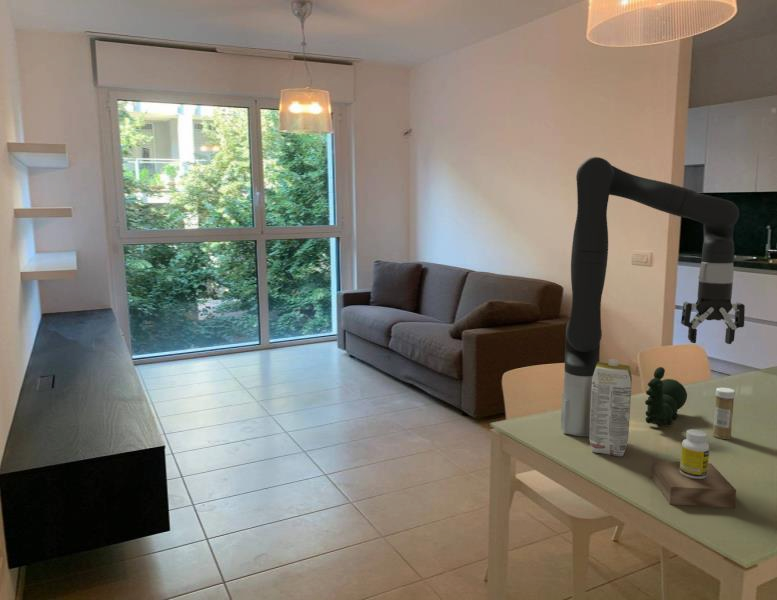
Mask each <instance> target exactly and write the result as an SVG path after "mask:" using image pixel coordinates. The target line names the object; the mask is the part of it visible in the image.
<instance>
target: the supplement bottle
mask: <svg viewBox="0 0 777 600" xmlns="http://www.w3.org/2000/svg"><path fill="white" fill-rule="evenodd" d="M685 436H686V439H683V440H682V442H681V451H680V452H681V453H680V461H679V462H680V472H681V474H683V475H684V476H686V477H689V478H693V479H704V478H705V477H706V476H707V469H708V463H709V459H710V458H709V457H710V445H709V444H708V442H706V441H707V439H708V438H707V437H708V433H707V432H706V431H703V430H700V429H691V428H690V429H687V430H686V435H685Z"/></svg>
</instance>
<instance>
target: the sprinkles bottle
mask: <svg viewBox="0 0 777 600" xmlns="http://www.w3.org/2000/svg"><path fill="white" fill-rule="evenodd" d="M735 397H736V391H735V390H734V389H733V388H729V387H717V388H715V406H714V414H713V415H714V417H713V431H712V436H713V437H715V438H717V439H722V440H729V439H731V438H732V427H733V421H734V420H733V418H734V416H733V415H734V400H735Z"/></svg>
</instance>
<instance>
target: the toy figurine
mask: <svg viewBox="0 0 777 600" xmlns="http://www.w3.org/2000/svg"><path fill="white" fill-rule="evenodd" d="M665 369H666V368H664V367H662V366H660V367H659V366H658V367H657V368H656V369H655V370H654V372H653V377H654V378H652V379H650V381H649V382H648V383H647V386H648V390H646V391H645V394H646V395H647V396H648V398H647V399H645V401H644V404H645V405H646V406H647V408H646V411H645V412H644V413H645V415H646V417H645V422H646V423H647V424H652V423H653V422H654V423H659V425H660V426H661V427H666V426H668V425H670V426H672V425H673V424H674V422H673V421H676V420H677V419H678V417H679V414H678V410H679V409H682V408H683V407H684V405H685V403H687V402H686V401H687V399H688V393H687V390H686V388H685V386H684V385H683V384H682V383H681V382H679V381H678V380H676V379H673V378H672V379H671V378H666V379H663V377H664V376H665V373H666V370H665Z"/></svg>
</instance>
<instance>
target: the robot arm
mask: <svg viewBox="0 0 777 600" xmlns="http://www.w3.org/2000/svg"><path fill="white" fill-rule="evenodd" d="M576 192H577V193H576V195H577V208H576V209H577V211H576V212H577V213H576V219H575V223H574V230H573V235H572V236H573V237H572V246H571V256H570V257H571V258H570V260H571V261H570V278H571V279H570V281H571V291H572V292H571V296H572V298H571V300H572V301H571V309H570V315H569V320H568V321H567V324H566V327H565V344H564V345H565V348H564V378H563V394H562V395H561V412H560V427H561V429H562V431H563V434H567V435H570V436H571V435H572V436H576V437H590V414H591V394H592V379H593V373H594V370H595V367H596V364H597V363H598V362H601V361H600V354H601V353H600V348H601V340H602V337H603V336H602V335H603V334H602V330H603V329H602V317H601V316H602V314H601V311H602V309H601V307H602V305H601V304H602V297H603V296H602V295H603V290H604V286H605V282H606V281H605V280H606V274H607V266H608V259H609V257H608V256H609V255H608V254H609V229H608V216H607V215H608V212H607V211H608V204H609V198H610V196H615V197H620V198H624V199H626V200H631V201H633V202H636V203H639V204H641V205H644V206H647V207H648V208H651V209H654V210H658V211H660V212H663V213H667V214H670V215H673V216H676V217H680V218H685V219H688V220H689V219H690V220H692V221H695V222H699V223H700V224H703V243H702V249H701V250H702V251H701V263H700V266H699V267H700V268H699V274H698V285H697V286H698V287H697V299H696V302H695V303H694V302H688V301H684V302H683V305H682V312H681V319H680V320H681V321H680V324H681V325H682V326H685V327H687V328H688V332H687V333H688V334H687V338H688V341H689V342H690V343H692V344H696V343H697V336H698V335H697V333H698V332H697V331H698V329H697V328H698V327H699V325H700V324H702V323H704V321H714V320H715V321H721V320H722V321H723V323H724V324H725V326H726V328H725V337H724V338H725V339H724V342H725V343H726V344H727V345H732V343H733V342H734V341H735V335H736V330H737V329H738V328H744V327H745V306H746V305H745V304H743V303H741V302H736V303H732V297H733V296H732V294H733V284H734V283H733V282H734V281H733V280H734V273H735V272H734V257H735V242H734V229H735V224H736V223H737V221H738V220H739V217H740V211H739V208H738V206H737V205H736V203H734V202H733V201H730V200H728V199H724V198H722V197H721V198H720V197H716V196H712V195H707V194H703V193H700V192H697V191H695V190H693V189H689V188H687V187H683V186H680V185H676V184H673V183H669V182H665V181H659V180H656V179H655V180H654V179H651V178H646V177H641V176H638V175H636V174H635V175H634V174H631V173H629V172H627V171H624V170H622V169H620V168H618V167H616V166H614V165H612V164H611V163H610V162H609V161H608V160H607V159H604V158H603V157H598V156H594V157H589V158H588V159H585V160H584V161H583V162H582V163H581V164H580V165H579V166H578V168H577V171H576ZM695 309H696V311H697V313H695V314H694V315H693V318H692V319H691V314H692V312H693V311H694V310H695ZM732 310H733V312H734V322H733V319H732V317H731V316H730V315H729V313H730V312H731V311H732Z"/></svg>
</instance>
